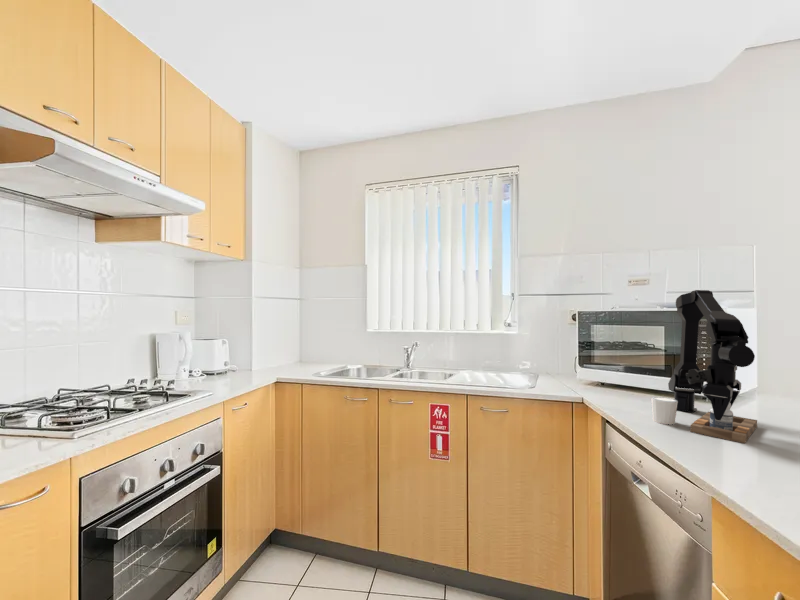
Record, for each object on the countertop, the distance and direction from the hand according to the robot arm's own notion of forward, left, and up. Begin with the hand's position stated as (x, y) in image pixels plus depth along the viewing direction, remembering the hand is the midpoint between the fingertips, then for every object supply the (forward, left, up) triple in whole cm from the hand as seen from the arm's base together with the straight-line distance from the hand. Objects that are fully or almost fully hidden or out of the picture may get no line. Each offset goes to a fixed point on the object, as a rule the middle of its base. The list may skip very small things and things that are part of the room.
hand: (721, 417), depth 118 cm
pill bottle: (0, 0, -5) cm, 5 cm away
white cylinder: (0, -14, -5) cm, 15 cm away
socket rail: (-6, 0, -4) cm, 8 cm away
